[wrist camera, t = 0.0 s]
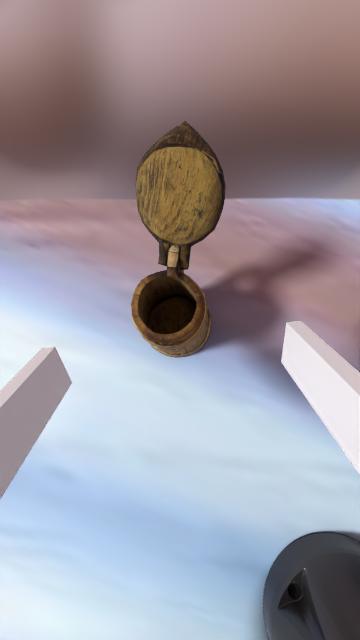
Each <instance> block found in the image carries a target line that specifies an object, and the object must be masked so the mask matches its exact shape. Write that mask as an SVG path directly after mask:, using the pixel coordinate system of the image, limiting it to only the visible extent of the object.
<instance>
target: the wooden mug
mask: <svg viewBox="0 0 360 640" xmlns="http://www.w3.org/2000/svg"><path fill="white" fill-rule="evenodd" d="M136 196H137V205H138V212H139V214H140V217H141V220H142V222H143V224H144V225H145V226H146V228H147V229H148V231H149V232H150V233H151V234H152V235H153V236H154V237H155V239H156V240H157V241H158V242H159V262H158V264H161V265H164V266H167V270H165V271H160V272H157V273H154V274H151V275H149V276H147V277H145V278H144V279H142V280H141V282H140V283H139V284H138V286H137V287H136V289H135V292H134V295H133V299H132V303H131V309H132V320H133V322H134V324H135V326H136V328H137V329H138V331H139V332H140V333H141V335H142V336H143V338H144V339H145V340H146V341H148V342H149V343H150V344H151V346H152V347H153V348H154V349H156V350H157V351H159V352H160V353H162V354H164V355H166V356H171V357H186V356H189V355H191V354H194V353H195V352H197V351H198V350H200V349H201V348H202V347H203V346H204V344H205V343H206V342H207V340H208V337H209V334H210V327H211V318H210V314H209V310H208V307H207V302H206V298H205V295H204V293H203V292H202V290H201V289H200V287H199V286H198V284H197V283H196V282H194V281H193V280H192V279H191V278H190V277H189V276H187V275H186V274H184V269H188V267H189V259H190V249H191V246H193V245H194V244H196V243H198V242H200V241H202V240H203V239H204V238H206V237H207V236H208V235H209V234H210V233H211V232H212V231H213V230H214V229H215V227H216V225H217V223H218V221H219V219H220V216H221V213H222V210H223V205H224V200H225V181H224V175H223V170H222V168H221V166H220V163H219V161H218V159H217V157H216V155H215V153H214V152H213V150H212V149H211V147H210V146H209V145H208V143H207V142H206V141H205V140H204V139H203V138H202V137H201V136H200V135H199V134H198V132H197V131H196V130H195V129H194V128H192V127H191V126H190V125H189V124H188V123H187V122H186V121H184V122H183V123H181V124H180V125H178V126H177V127H175V128H174V129H172V130H171V131H169V132H168V133H167V134H165V135H164V136H163V137H162V138H161V139H159V140H158V141H157V142H156V143H155V144H154V145H153V146H152V147H151V148H150V149H149V150H148V151H147V153H146V154H145V155H144V156H143V158H142V160H141V162H140V164H139V166H138V167H137V178H136Z"/></svg>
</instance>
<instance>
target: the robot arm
mask: <svg viewBox="0 0 360 640" xmlns="http://www.w3.org/2000/svg"><path fill="white" fill-rule="evenodd" d="M281 363H282V364H283V365H284V367H285V368H286V370H287V371H288V373H289V374H290V375H291V377H292V378H293V380H294V381H295V383H296V384H297V386H298V387H299V388H300V390H301V391H302V393H303V394H304V396H305V397H306V398H307V400H308V401H309V403H310V404H311V406H312V407H313V408H314V410H315V411H316V413H317V414H318V416H319V417H320V418H321V420H322V421H323V423H324V424H325V426H326V427H327V428H328V430H329V431H330V433H331V434H332V436H333V437H334V439H335V440H336V441H337V443H338V444H339V446H340V447H341V449H342V450H343V451H344V453H345V454H346V456H347V457H348V459H349V460H350V461H351V463H352V464H353V466H354V467H355V469H356V470H357V471H358V473H359V474H360V371H357V370H356V369H355V368H354V367H353V366H352V365H350V364H349V363H348V362H347V361H346V360H345V359H344V358H342V357H341V356H340V355H339V354H338V353H337V352H336V351H334V350H333V349H332V348H331V347H330V346H329V345H328V344H326V343H325V342H324V341H323V340H322V339H321V338H320V337H318V336H317V335H316V334H315V333H314V332H313V331H312V330H310V329H309V328H308V327H307V326H306V325H305V324H304V323H302V322H301V321H295V322H286V329H285V337H284V344H283V352H282V359H281ZM71 384H72V382H71V380H70V377H69V375H68V373H67V371H66V369H65V367H64V365H63V363H62V361H61V358H60V356H59V354H58V352H57V350H56V348H55V347H51V348H42V349H41V350H40V351H39V352H38V353H37V354H36V355H35V356H34V357H33V358H32V359H31V360H30V361H29V362H28V363H27V364H26V365H25V366H24V367H23V368H22V369H21V370H20V371H19V372H18V373H17V374H16V376H15V377H14V378H13V379H12V380H11V381H10V382H9V383H8V384H7V385H6V386H5V387H4V388H3V389H2V390H1V391H0V499H1V497H2V496H3V494H4V493H5V491H6V489H7V488H8V486H9V484H10V483H11V481H12V480H13V478H14V476H15V475H16V473H17V471H18V470H19V468H20V467H21V465H22V463H23V462H24V460H25V458H26V457H27V455H28V453H29V452H30V450H31V449H32V447H33V445H34V444H35V442H36V440H37V439H38V437H39V436H40V434H41V432H42V431H43V429H44V427H45V426H46V424H47V423H48V421H49V419H50V418H51V416H52V414H53V413H54V411H55V410H56V408H57V406H58V405H59V403H60V401H61V400H62V398H63V397H64V395H65V393H66V392H67V390H68V388H69V387H70V385H71ZM263 614H264V621H265V626H266V631H267V634H268V638H269V640H360V542H359V541H357V540H355V539H352V538H350V537H347V536H344V535H340V534H335V533H316V534H311V535H307V536H305V537H302V538H300V539H298V540H296V541H294V542H293V543H291V544H290V545H289V546H287V547H286V548H285V549H284V550H283V551H282V552H281V553H280V555H279V556H278V557H277V558H276V560H275V561H274V563H273V565H272V567H271V569H270V571H269V574H268V576H267V580H266V583H265V588H264V595H263Z"/></svg>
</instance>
